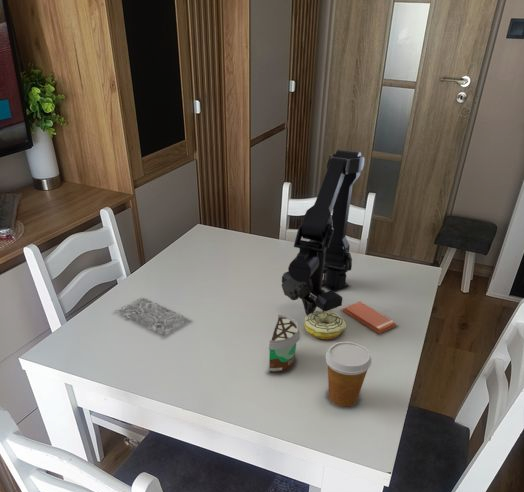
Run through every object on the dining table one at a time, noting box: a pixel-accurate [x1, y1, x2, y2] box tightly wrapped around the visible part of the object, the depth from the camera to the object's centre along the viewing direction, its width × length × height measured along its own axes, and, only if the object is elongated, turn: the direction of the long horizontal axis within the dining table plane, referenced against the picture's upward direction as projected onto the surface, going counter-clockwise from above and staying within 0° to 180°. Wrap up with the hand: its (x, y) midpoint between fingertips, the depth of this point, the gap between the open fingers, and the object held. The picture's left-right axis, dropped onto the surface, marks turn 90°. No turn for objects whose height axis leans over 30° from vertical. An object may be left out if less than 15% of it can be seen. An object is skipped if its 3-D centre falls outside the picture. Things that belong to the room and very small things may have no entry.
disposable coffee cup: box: [325, 341, 373, 408], centre depth 103 cm, size 10×10×12 cm
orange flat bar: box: [342, 301, 397, 335], centre depth 133 cm, size 14×6×1 cm, turn 35°
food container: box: [268, 313, 301, 374], centre depth 114 cm, size 12×6×10 cm, turn 168°
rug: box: [114, 297, 190, 336], centre depth 133 cm, size 10×20×1 cm, turn 52°
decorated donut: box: [303, 310, 347, 340], centre depth 127 cm, size 10×11×4 cm
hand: (308, 316), depth 132 cm, fingers closed
